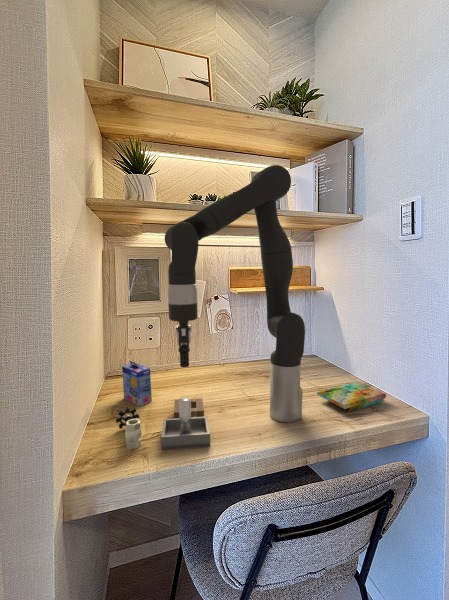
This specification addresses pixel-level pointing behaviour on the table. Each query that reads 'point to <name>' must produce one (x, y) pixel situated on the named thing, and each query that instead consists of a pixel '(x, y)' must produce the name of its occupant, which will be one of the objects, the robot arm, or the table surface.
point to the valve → (130, 428)
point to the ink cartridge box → (137, 383)
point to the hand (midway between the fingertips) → (184, 361)
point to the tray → (181, 441)
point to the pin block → (196, 408)
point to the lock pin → (185, 415)
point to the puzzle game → (353, 396)
